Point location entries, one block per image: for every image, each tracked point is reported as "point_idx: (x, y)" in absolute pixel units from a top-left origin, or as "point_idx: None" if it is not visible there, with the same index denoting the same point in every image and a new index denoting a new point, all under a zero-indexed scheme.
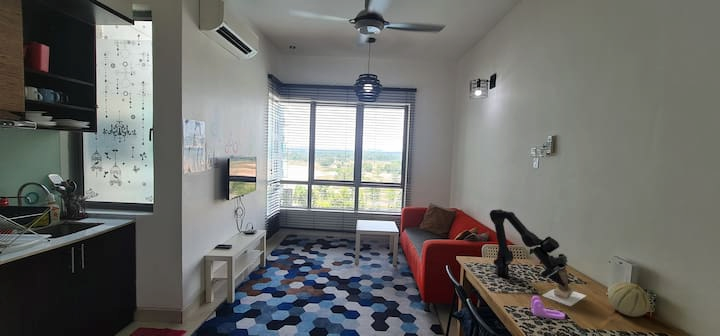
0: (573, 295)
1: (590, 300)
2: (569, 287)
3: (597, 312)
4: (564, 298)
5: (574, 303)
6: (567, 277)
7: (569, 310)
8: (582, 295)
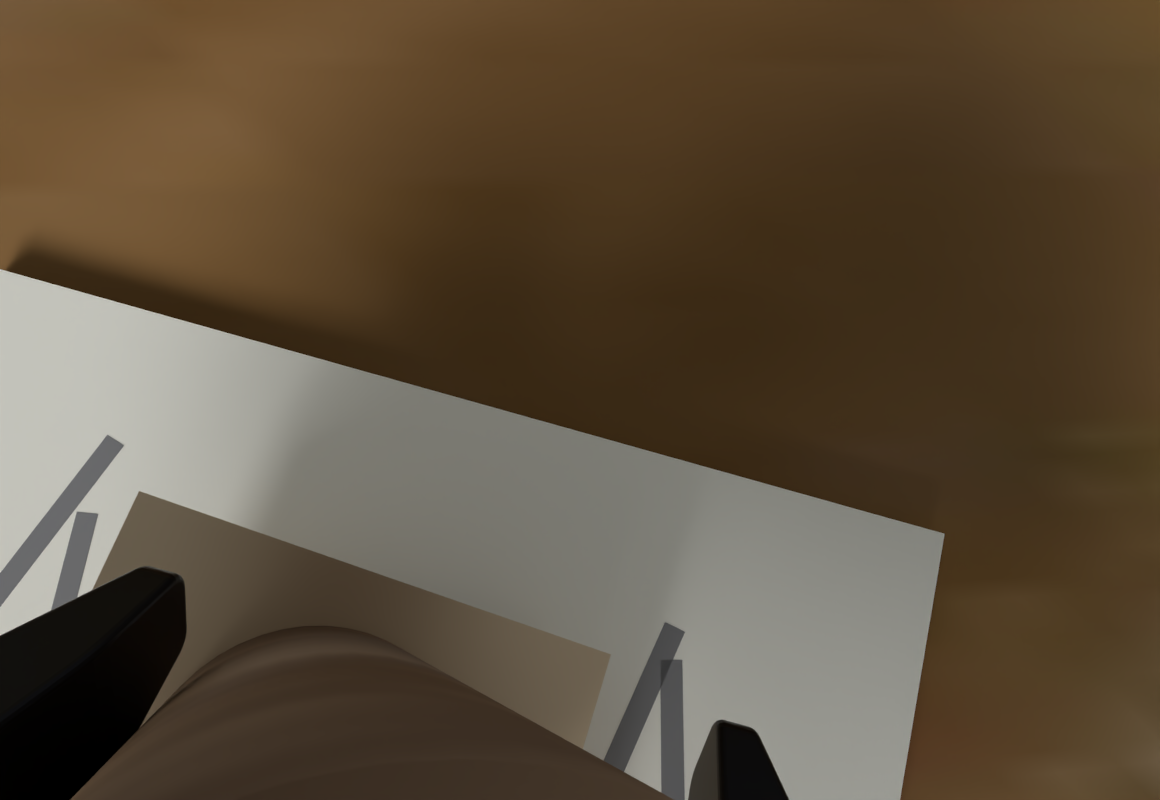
0: None
1: (133, 207)
2: (194, 603)
3: (701, 92)
4: None
5: (691, 466)
6: (413, 680)
7: (1055, 547)
8: (20, 337)
